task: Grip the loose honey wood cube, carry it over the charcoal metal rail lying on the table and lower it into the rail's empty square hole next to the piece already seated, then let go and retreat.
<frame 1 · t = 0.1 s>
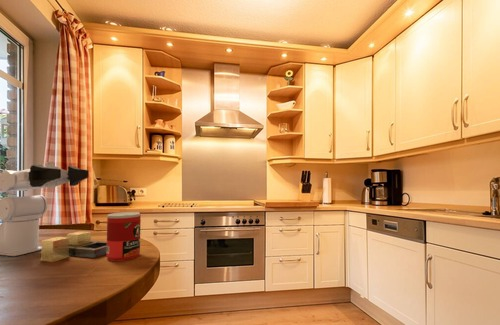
hand: (74, 173, 68), 22 cm above the table, tool horizontal, fingers open, 7 cm apart
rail: (87, 251, 72), on the table
canned food: (123, 257, 66), on the table
honey wood cube: (55, 258, 66), on the table
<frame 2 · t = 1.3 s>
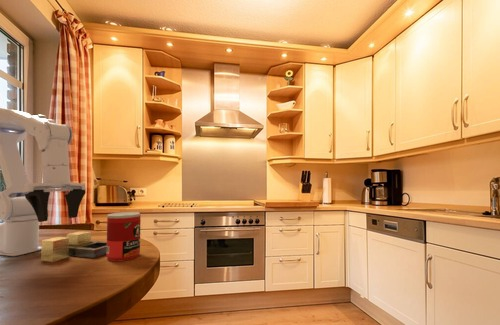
hand: (59, 219, 66), 10 cm above the table, tool pointing down, fingers open, 7 cm apart
nothing on the table moved.
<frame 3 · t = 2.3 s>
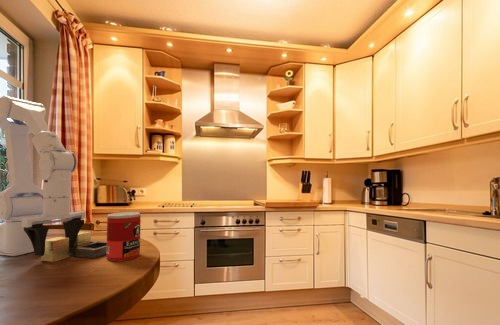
hand: (55, 251, 66), 2 cm above the table, tool pointing down, fingers open, 7 cm apart
nothing on the table moved.
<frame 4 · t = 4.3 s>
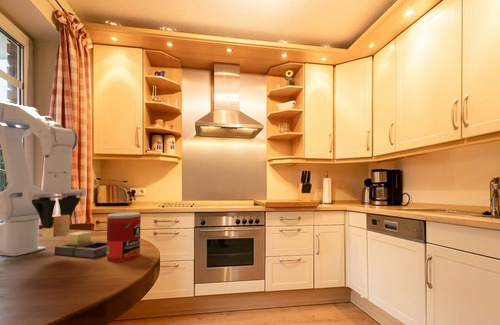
hand: (56, 226, 66), 8 cm above the table, tool pointing down, fingers closed on honey wood cube, 4 cm apart
honey wood cube: (55, 235, 66), point 6 cm above the table, touching gripper
everything else where it was.
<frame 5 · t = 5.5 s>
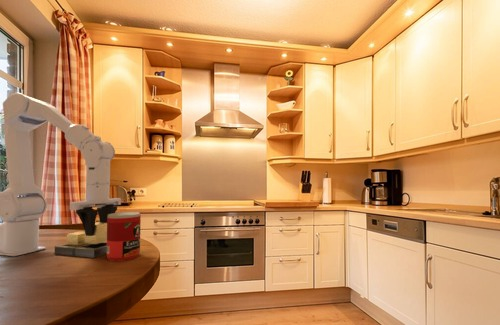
hand: (97, 233, 71), 5 cm above the table, tool pointing down, fingers closed on honey wood cube, 4 cm apart
honey wood cube: (96, 241, 71), point 3 cm above the table, touching gripper
everything else where it was.
when the fingers open (3 cm above the table, at t = 6.7 s): honey wood cube stays where it is, resting in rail.
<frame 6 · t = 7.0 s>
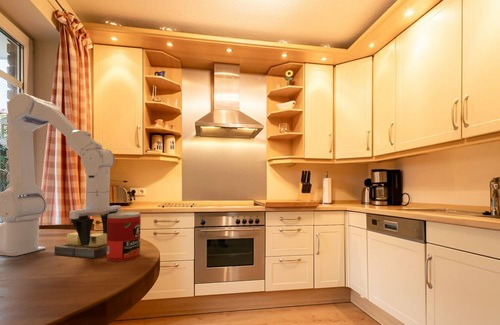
hand: (96, 241, 71), 3 cm above the table, tool pointing down, fingers open, 6 cm apart
honey wood cube: (96, 253, 70), resting in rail
everything else where it was.
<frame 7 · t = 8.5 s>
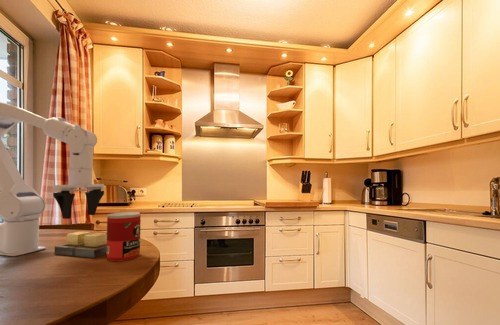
hand: (79, 216, 74), 9 cm above the table, tool pointing down, fingers open, 7 cm apart
nothing on the table moved.
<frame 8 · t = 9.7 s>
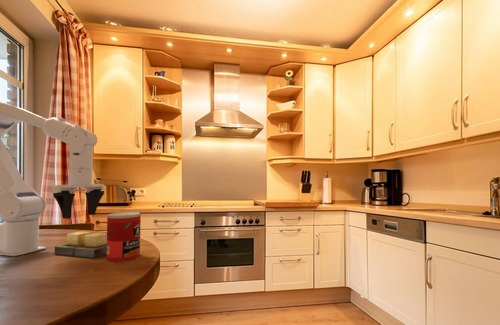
hand: (79, 216, 74), 9 cm above the table, tool pointing down, fingers open, 7 cm apart
nothing on the table moved.
at the end: honey wood cube 0.0 cm from the target spot on the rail, point 0.0 cm above the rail's base; honey wood cube tilted 0°; the gripper is holding nothing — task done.
